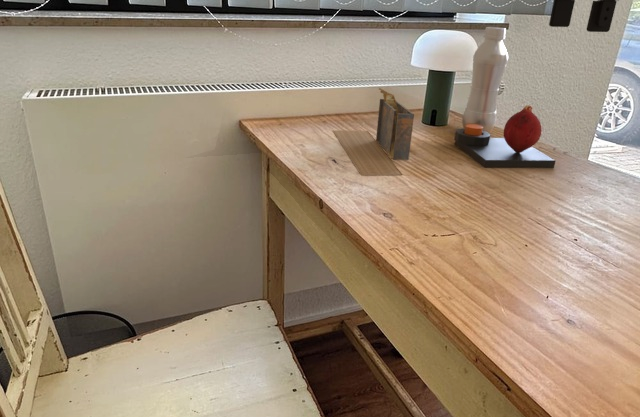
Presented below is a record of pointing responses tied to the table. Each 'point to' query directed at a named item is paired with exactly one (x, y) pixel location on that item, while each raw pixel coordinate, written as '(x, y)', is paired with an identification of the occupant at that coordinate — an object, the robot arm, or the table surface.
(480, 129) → the button
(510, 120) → the onion
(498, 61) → the plastic bottle
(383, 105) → the ruin model on sheet
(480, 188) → the table surface
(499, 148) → the scale
